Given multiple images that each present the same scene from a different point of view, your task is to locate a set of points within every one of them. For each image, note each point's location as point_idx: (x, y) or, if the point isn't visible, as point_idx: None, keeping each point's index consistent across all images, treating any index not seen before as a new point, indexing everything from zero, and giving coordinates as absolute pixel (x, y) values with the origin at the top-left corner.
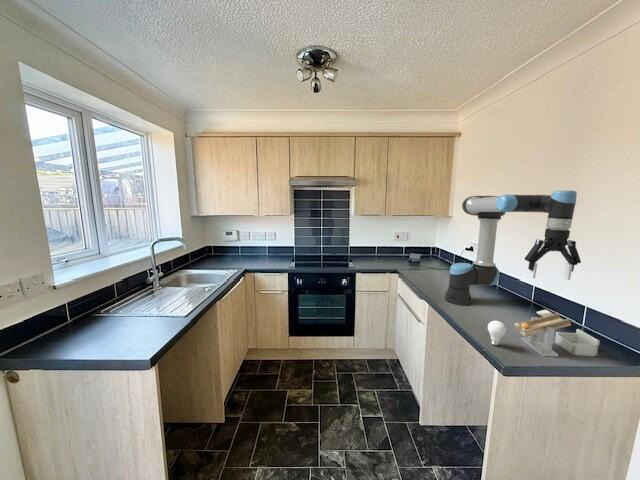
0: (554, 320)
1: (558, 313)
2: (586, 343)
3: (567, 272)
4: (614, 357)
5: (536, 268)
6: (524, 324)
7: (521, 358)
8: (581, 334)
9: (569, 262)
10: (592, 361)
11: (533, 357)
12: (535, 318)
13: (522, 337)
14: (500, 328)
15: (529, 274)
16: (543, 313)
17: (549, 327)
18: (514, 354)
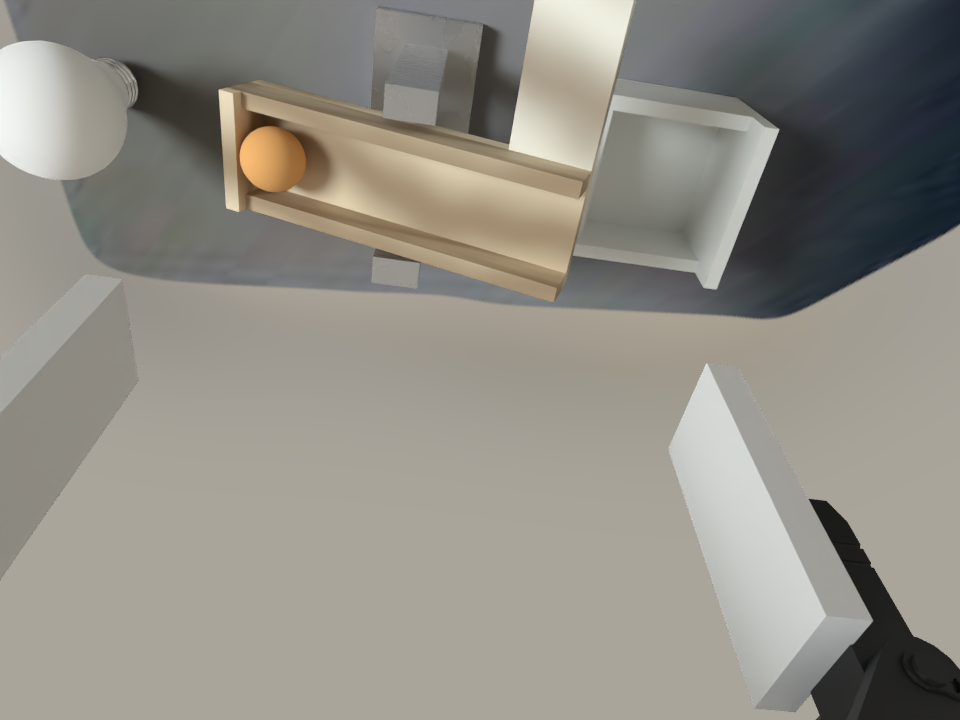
0: (522, 188)
1: (580, 189)
2: (709, 199)
3: (716, 512)
4: (783, 252)
5: (30, 530)
6: (249, 176)
7: (220, 233)
8: (739, 167)
9: (852, 692)
10: (608, 278)
11: (299, 228)
12: (402, 114)
13: (376, 20)
14: (44, 177)
15: (64, 310)
16: (559, 37)
17: (388, 270)
18: (201, 195)
